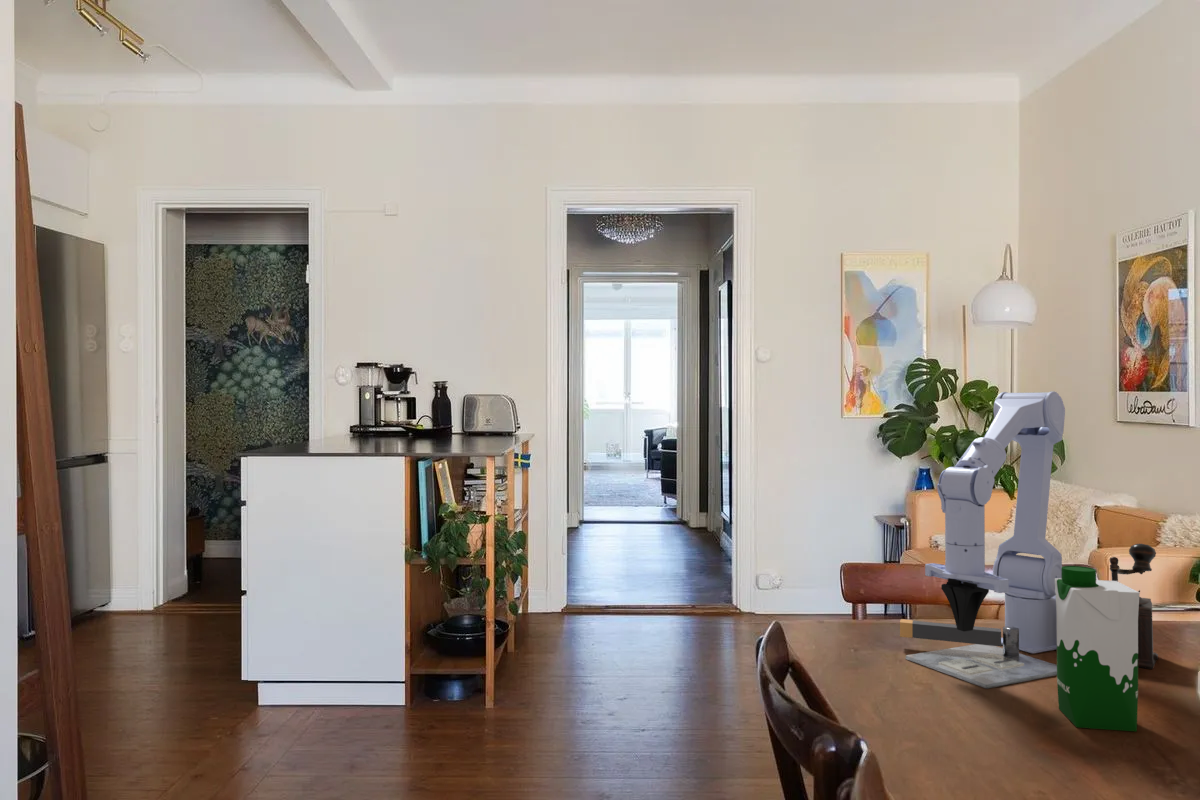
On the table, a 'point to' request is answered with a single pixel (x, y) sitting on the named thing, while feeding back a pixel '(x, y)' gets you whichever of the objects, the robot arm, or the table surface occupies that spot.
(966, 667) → the tray base
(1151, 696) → the table surface
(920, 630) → the swing arm
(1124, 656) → the milk carton
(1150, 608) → the manual coffee grinder
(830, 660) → the table surface
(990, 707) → the table surface
